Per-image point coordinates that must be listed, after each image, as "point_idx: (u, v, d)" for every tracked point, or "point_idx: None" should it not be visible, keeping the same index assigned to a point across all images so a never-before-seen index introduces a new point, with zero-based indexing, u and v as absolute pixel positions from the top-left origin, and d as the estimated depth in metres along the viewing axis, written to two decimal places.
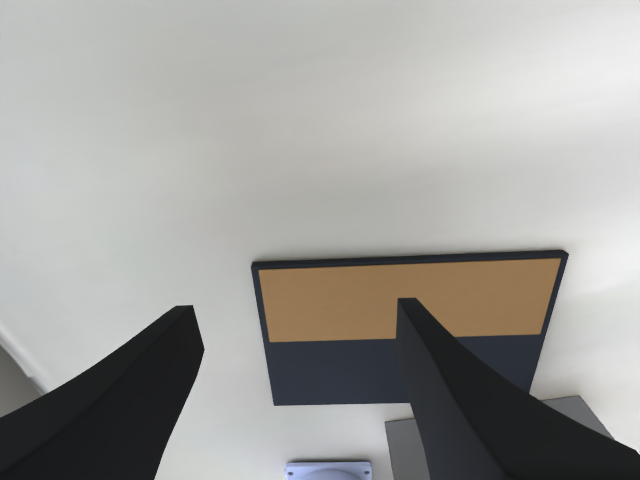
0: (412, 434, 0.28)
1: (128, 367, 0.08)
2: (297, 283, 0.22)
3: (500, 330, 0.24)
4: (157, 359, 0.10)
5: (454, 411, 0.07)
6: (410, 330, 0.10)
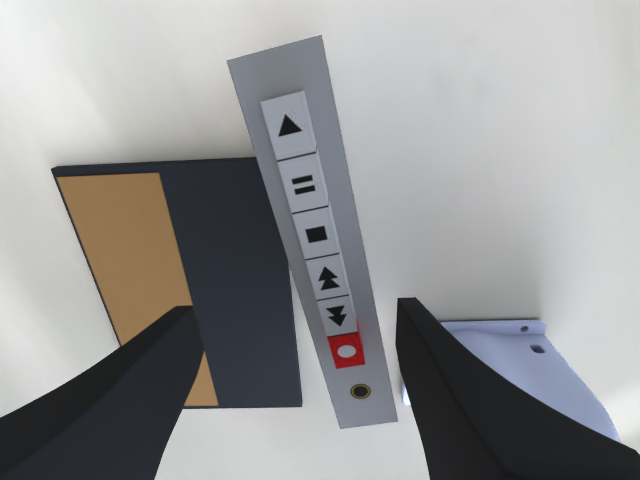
0: None
1: (128, 367, 0.08)
2: None
3: (164, 217, 0.21)
4: (157, 359, 0.10)
5: (454, 411, 0.07)
6: (410, 330, 0.10)
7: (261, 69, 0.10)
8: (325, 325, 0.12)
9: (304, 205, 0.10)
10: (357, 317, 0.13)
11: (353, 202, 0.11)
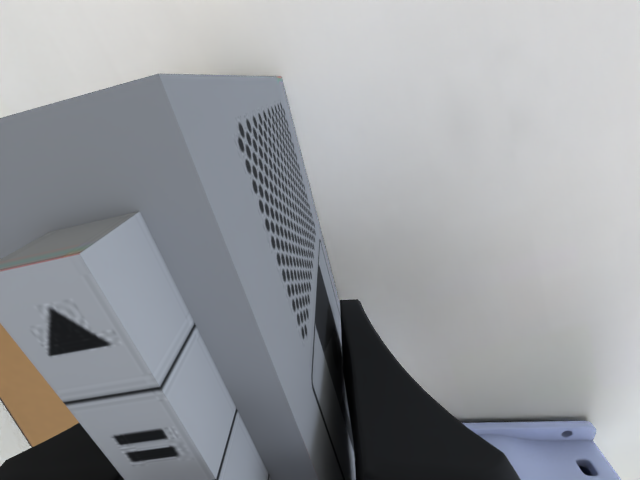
0: None
1: None
2: None
3: None
4: None
5: (356, 413, 0.07)
6: (343, 332, 0.10)
7: (17, 165, 0.04)
8: None
9: (159, 479, 0.04)
10: None
11: (292, 421, 0.05)
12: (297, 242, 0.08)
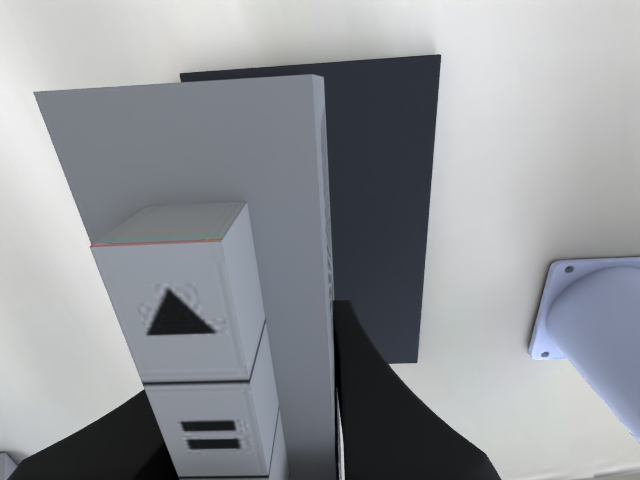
0: None
1: None
2: None
3: None
4: None
5: None
6: (334, 332, 0.10)
7: (135, 134, 0.03)
8: None
9: (210, 468, 0.04)
10: None
11: (330, 424, 0.05)
12: None
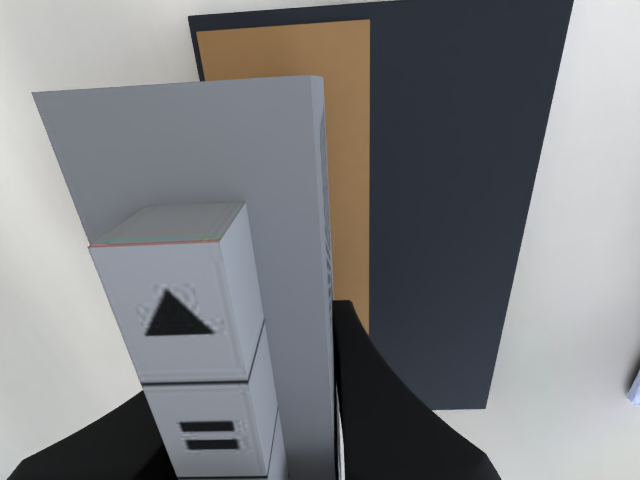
0: None
1: None
2: None
3: (359, 105, 0.13)
4: None
5: None
6: (334, 332, 0.10)
7: (134, 134, 0.03)
8: None
9: (209, 469, 0.04)
10: None
11: (329, 424, 0.05)
12: (328, 245, 0.08)
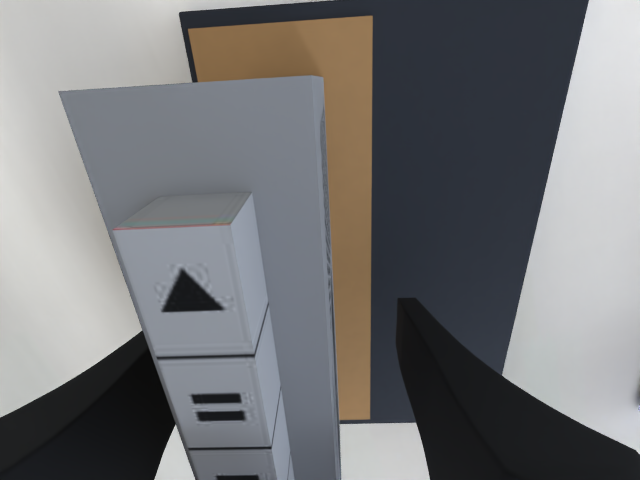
0: None
1: (128, 367, 0.08)
2: None
3: (361, 107, 0.12)
4: None
5: (454, 411, 0.07)
6: (410, 330, 0.10)
7: (151, 130, 0.04)
8: None
9: (217, 440, 0.04)
10: None
11: (328, 404, 0.06)
12: (328, 239, 0.09)
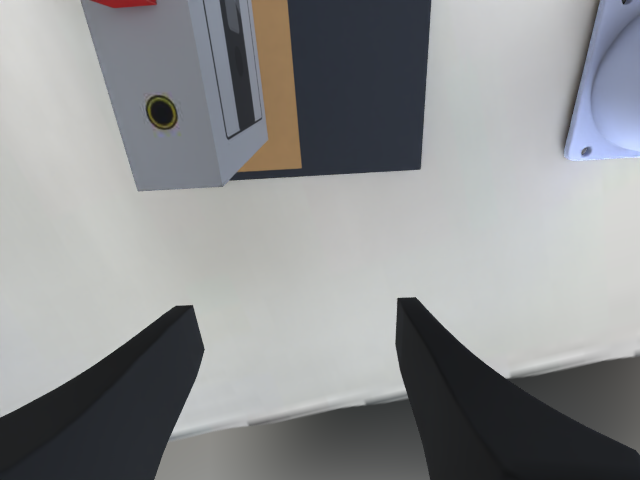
0: None
1: (128, 367, 0.08)
2: None
3: None
4: (157, 359, 0.10)
5: (454, 411, 0.07)
6: (410, 330, 0.10)
7: None
8: None
9: None
10: None
11: None
12: None
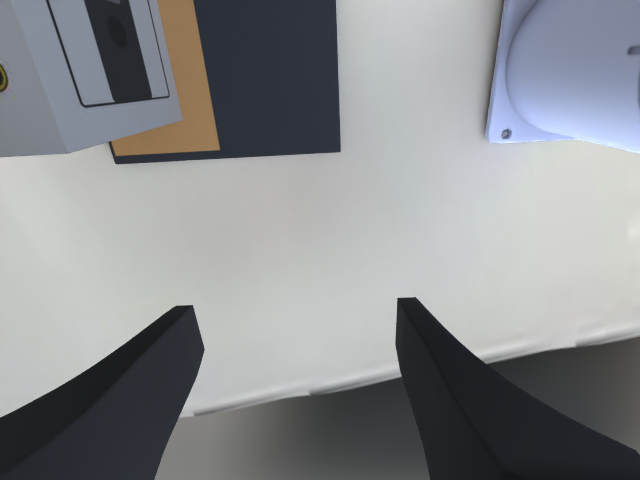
0: None
1: (128, 367, 0.08)
2: None
3: None
4: (157, 359, 0.10)
5: (453, 411, 0.07)
6: (410, 330, 0.10)
7: None
8: None
9: None
10: None
11: None
12: None
